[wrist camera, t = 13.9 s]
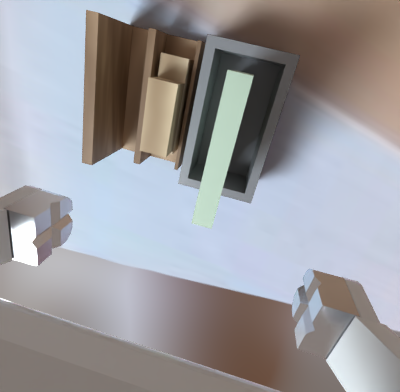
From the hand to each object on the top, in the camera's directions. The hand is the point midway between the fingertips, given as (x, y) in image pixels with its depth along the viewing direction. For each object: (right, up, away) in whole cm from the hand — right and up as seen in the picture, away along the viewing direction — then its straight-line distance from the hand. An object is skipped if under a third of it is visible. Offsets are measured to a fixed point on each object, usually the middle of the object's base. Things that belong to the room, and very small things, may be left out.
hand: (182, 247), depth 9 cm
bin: (+5, +12, +27) cm, 30 cm away
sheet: (+5, +11, +26) cm, 29 cm away
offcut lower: (-3, +13, +26) cm, 29 cm away
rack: (-5, +15, +27) cm, 31 cm away
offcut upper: (-3, +11, +24) cm, 26 cm away
